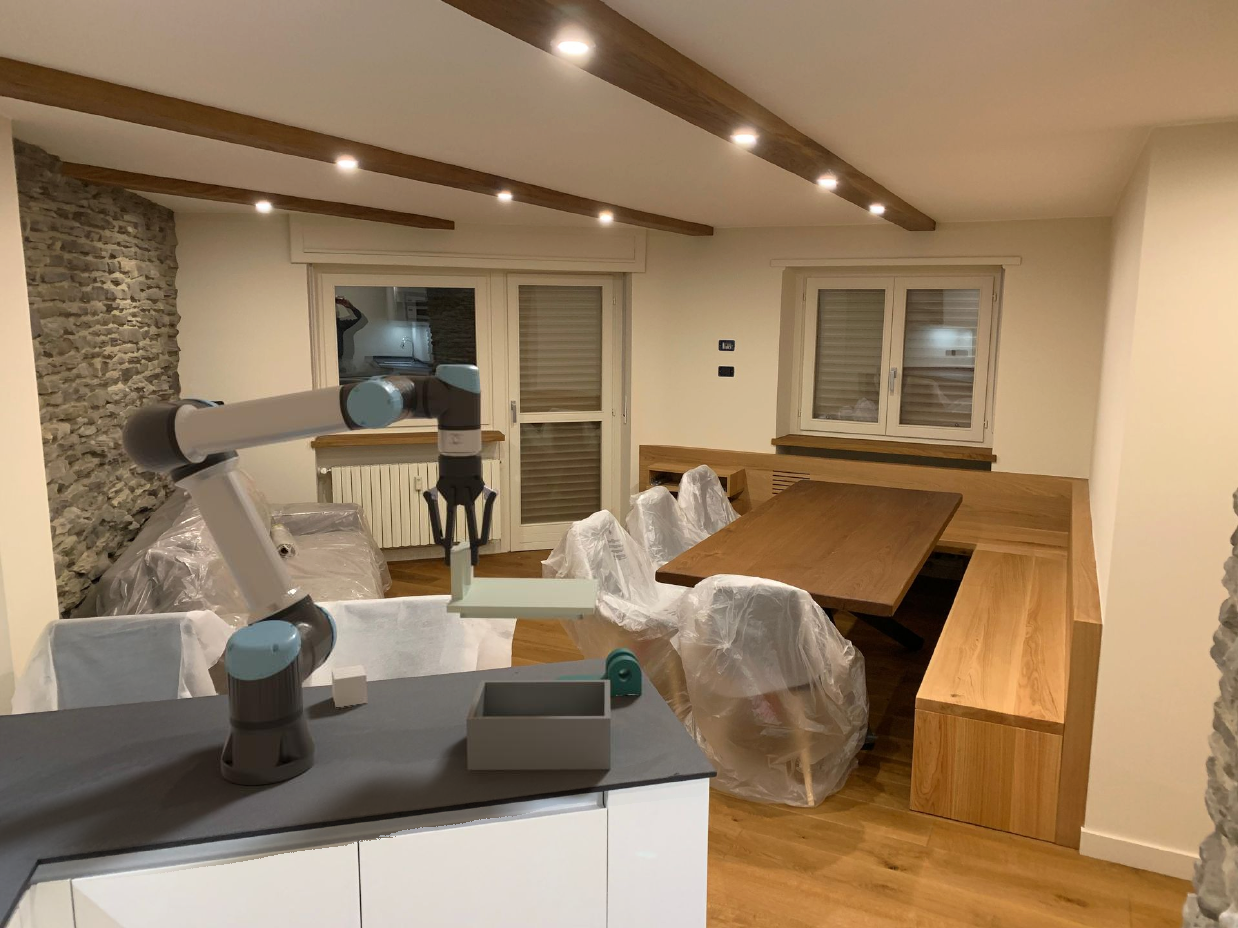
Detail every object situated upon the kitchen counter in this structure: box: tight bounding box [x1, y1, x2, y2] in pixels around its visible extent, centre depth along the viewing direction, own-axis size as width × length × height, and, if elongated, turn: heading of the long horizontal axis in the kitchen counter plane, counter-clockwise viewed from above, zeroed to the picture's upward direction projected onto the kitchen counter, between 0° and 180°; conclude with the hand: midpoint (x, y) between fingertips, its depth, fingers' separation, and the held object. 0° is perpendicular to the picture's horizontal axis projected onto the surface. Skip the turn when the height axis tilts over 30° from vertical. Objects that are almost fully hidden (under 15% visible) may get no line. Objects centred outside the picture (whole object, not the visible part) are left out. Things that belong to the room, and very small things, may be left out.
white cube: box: [331, 664, 368, 708], centre depth 179 cm, size 6×6×6 cm
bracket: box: [553, 647, 643, 697], centre depth 184 cm, size 18×7×8 cm, turn 96°
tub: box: [465, 679, 611, 771], centre depth 159 cm, size 24×17×9 cm
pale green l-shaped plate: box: [445, 540, 600, 620], centre depth 160 cm, size 25×18×11 cm
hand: (462, 582), depth 161 cm, fingers closed on pale green l-shaped plate, 2 cm apart
